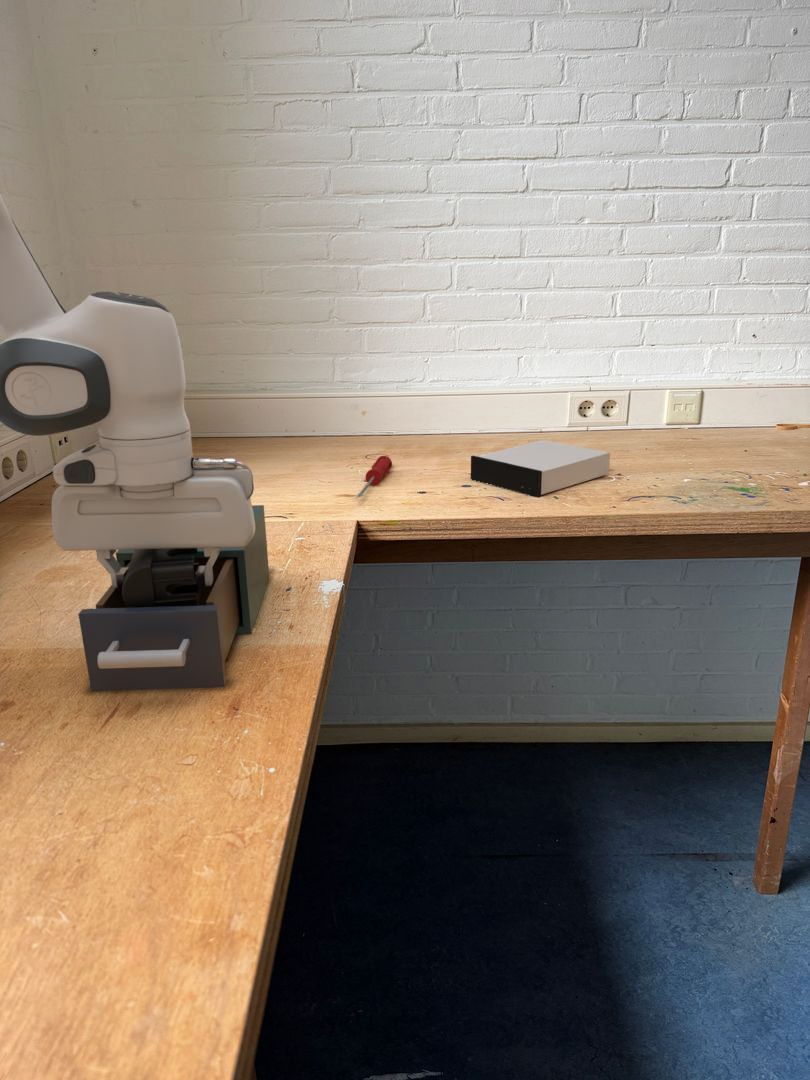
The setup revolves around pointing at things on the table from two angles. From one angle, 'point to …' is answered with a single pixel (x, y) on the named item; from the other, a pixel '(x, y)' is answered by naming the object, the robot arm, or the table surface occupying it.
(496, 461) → the disc drive
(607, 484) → the table surface
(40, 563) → the table surface
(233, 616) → the drawer
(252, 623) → the cabinet
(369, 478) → the screwdriver
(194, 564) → the end cap
